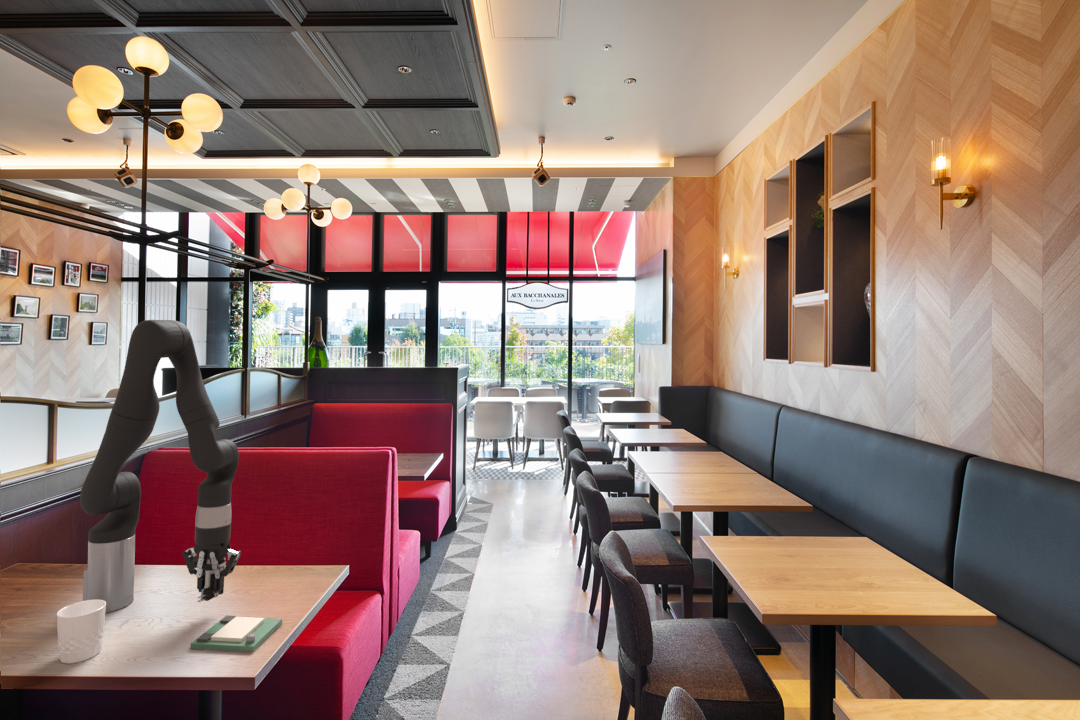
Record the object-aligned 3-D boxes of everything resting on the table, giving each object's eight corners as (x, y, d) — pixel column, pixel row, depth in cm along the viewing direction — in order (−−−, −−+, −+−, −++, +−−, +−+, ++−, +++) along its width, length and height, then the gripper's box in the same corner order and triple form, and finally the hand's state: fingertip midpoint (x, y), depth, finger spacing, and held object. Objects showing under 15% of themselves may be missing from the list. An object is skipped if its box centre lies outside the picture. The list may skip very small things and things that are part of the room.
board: (190, 648, 114) (190, 637, 114) (225, 621, 126) (225, 611, 126) (253, 651, 114) (253, 641, 114) (282, 623, 126) (282, 613, 126)
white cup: (75, 644, 115) (77, 599, 115) (114, 644, 115) (115, 599, 115) (45, 666, 107) (46, 617, 107) (86, 665, 107) (87, 617, 107)
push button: (207, 605, 125) (209, 564, 125) (188, 602, 126) (190, 561, 126) (229, 593, 132) (231, 554, 131) (211, 590, 133) (213, 551, 133)
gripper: (174, 525, 125) (171, 596, 125) (232, 528, 125) (229, 600, 125) (195, 515, 133) (192, 582, 133) (250, 518, 132) (247, 586, 132)
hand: (210, 590), depth 129 cm, fingers closed on push button, 3 cm apart
